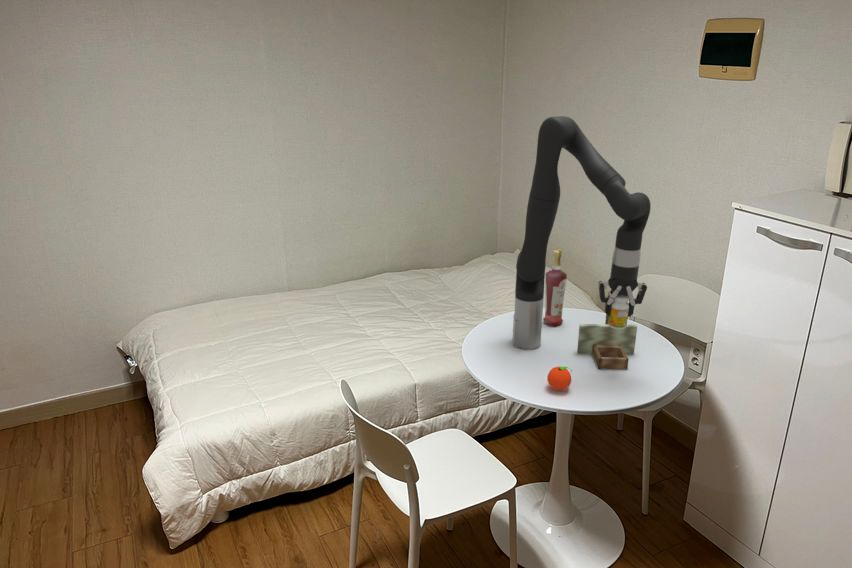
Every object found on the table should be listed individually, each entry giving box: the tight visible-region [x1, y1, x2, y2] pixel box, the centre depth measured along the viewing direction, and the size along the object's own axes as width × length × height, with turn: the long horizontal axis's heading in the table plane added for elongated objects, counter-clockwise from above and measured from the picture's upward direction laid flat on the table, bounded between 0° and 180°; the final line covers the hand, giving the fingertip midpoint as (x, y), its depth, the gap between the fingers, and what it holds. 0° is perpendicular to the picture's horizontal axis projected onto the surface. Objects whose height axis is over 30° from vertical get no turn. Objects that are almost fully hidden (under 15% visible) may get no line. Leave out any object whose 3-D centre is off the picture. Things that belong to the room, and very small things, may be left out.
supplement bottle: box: [608, 295, 629, 329], centre depth 184 cm, size 5×5×10 cm
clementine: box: [547, 366, 573, 391], centre depth 181 cm, size 8×7×7 cm
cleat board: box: [576, 323, 638, 370], centre depth 196 cm, size 18×12×10 cm, turn 87°
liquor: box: [543, 248, 568, 327], centre depth 220 cm, size 7×7×28 cm
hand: (618, 315), depth 185 cm, fingers closed on supplement bottle, 5 cm apart
